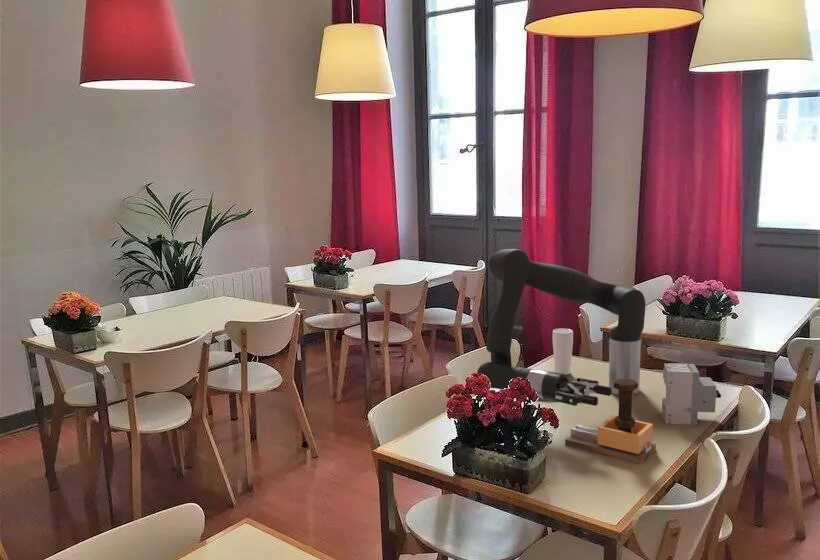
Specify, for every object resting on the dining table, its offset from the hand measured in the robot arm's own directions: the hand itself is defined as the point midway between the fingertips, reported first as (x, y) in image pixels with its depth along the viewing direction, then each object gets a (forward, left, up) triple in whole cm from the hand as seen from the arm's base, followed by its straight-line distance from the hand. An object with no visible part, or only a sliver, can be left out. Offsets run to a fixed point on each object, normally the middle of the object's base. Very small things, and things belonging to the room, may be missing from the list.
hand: (604, 396), depth 177 cm
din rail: (0, +2, -12) cm, 12 cm away
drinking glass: (-48, -35, -13) cm, 61 cm away
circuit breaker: (-30, +13, -13) cm, 35 cm away
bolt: (0, +6, -10) cm, 12 cm away
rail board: (0, +2, -13) cm, 13 cm away
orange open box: (0, +6, -11) cm, 12 cm away
